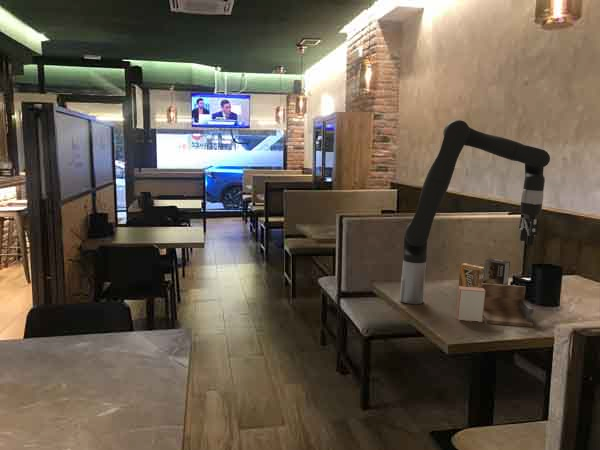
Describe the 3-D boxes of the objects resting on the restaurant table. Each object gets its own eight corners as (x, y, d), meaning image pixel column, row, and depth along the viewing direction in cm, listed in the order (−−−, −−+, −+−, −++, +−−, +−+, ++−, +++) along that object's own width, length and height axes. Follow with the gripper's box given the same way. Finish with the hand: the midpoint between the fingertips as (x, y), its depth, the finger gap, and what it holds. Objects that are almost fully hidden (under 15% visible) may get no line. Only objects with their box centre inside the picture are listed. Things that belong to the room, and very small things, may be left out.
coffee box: (507, 297, 211) (511, 261, 209) (501, 301, 207) (505, 263, 204) (486, 292, 217) (489, 257, 214) (480, 295, 213) (484, 259, 210)
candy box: (481, 302, 203) (485, 267, 201) (476, 305, 200) (480, 268, 198) (461, 297, 210) (464, 262, 207) (456, 299, 207) (459, 264, 204)
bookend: (487, 323, 180) (490, 293, 178) (479, 310, 194) (482, 283, 192) (532, 326, 178) (536, 297, 176) (521, 313, 192) (524, 286, 190)
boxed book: (457, 320, 182) (460, 289, 180) (455, 316, 186) (458, 286, 184) (482, 322, 181) (485, 291, 179) (480, 318, 185) (483, 288, 183)
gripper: (516, 198, 195) (510, 238, 198) (527, 203, 181) (521, 246, 184) (535, 200, 194) (530, 240, 197) (548, 204, 180) (542, 247, 183)
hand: (526, 243), depth 190 cm, fingers open, 8 cm apart
